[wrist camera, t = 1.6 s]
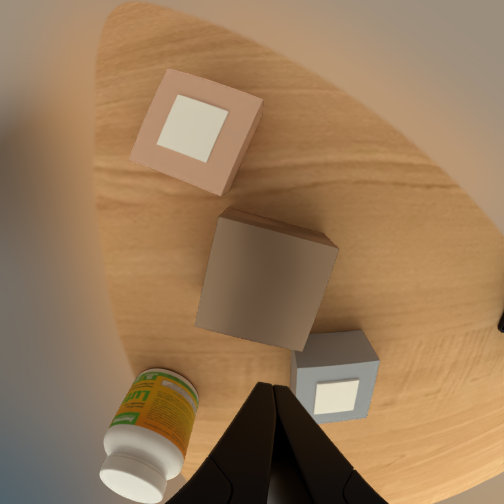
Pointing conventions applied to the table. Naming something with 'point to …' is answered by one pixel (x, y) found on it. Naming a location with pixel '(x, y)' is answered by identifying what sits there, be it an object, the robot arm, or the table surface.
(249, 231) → the walnut block
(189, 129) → the tan cream-patch box
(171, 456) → the supplement bottle
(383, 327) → the table surface
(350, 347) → the grey cream-patch block
